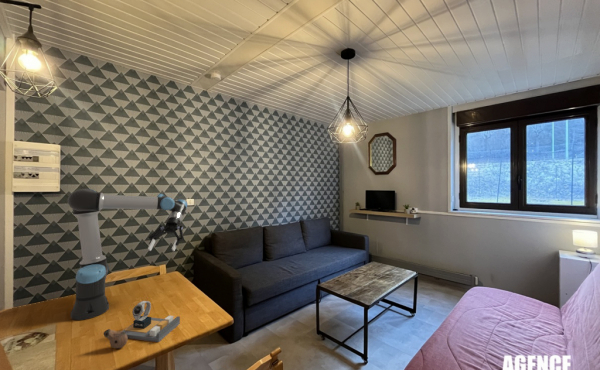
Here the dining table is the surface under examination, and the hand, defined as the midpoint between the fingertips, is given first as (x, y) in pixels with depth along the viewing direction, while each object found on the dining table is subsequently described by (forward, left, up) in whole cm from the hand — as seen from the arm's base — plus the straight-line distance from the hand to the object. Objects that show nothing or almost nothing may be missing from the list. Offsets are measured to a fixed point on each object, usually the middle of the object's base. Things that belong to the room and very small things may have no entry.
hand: (161, 250), depth 140 cm
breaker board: (+16, -26, -30) cm, 42 cm away
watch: (+11, -26, -28) cm, 40 cm away
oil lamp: (+11, -39, -30) cm, 50 cm away
